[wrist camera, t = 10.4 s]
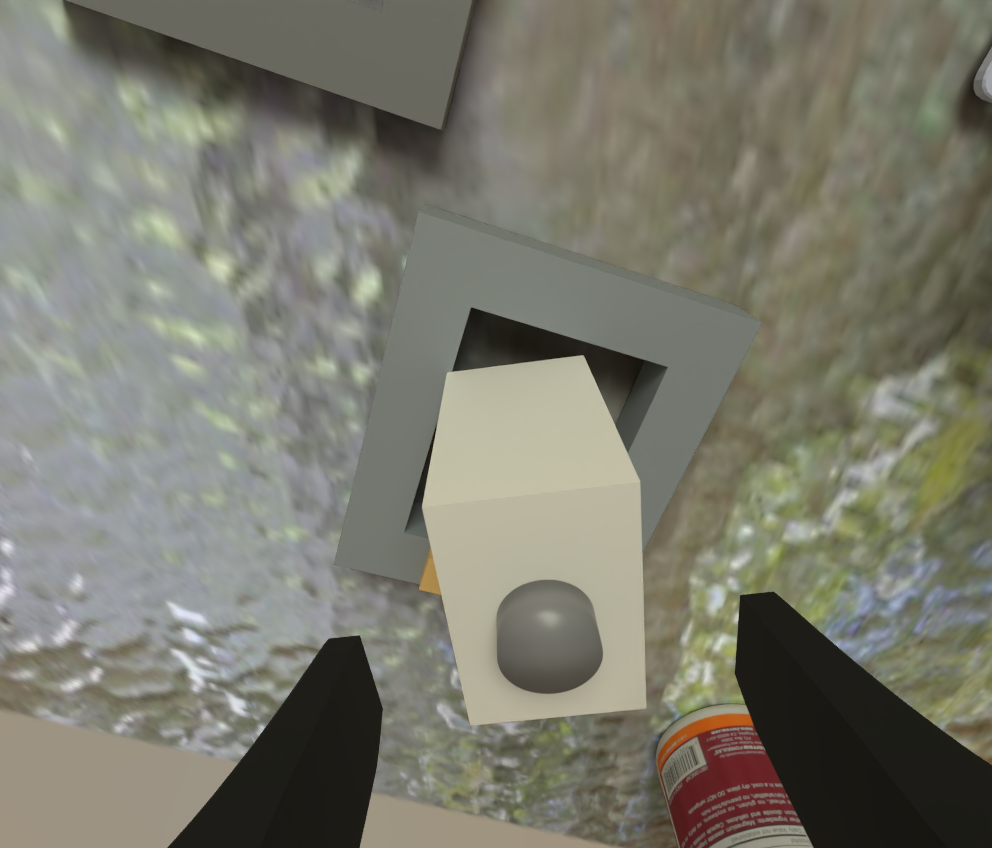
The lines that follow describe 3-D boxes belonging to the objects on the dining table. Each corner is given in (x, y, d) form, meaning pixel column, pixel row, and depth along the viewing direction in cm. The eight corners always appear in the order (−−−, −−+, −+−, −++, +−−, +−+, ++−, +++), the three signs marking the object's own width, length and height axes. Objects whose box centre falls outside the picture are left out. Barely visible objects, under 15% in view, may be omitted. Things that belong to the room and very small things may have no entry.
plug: (583, 355, 17) (654, 513, 10) (595, 525, 19) (657, 749, 12) (446, 372, 17) (415, 540, 10) (476, 538, 20) (469, 767, 12)
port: (735, 305, 18) (771, 328, 16) (594, 589, 23) (606, 639, 21) (426, 204, 17) (415, 214, 14) (346, 529, 22) (329, 576, 19)
